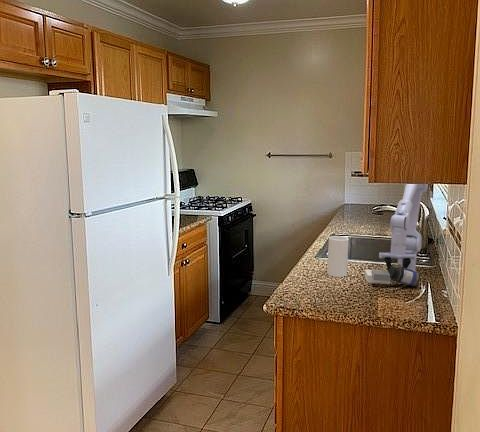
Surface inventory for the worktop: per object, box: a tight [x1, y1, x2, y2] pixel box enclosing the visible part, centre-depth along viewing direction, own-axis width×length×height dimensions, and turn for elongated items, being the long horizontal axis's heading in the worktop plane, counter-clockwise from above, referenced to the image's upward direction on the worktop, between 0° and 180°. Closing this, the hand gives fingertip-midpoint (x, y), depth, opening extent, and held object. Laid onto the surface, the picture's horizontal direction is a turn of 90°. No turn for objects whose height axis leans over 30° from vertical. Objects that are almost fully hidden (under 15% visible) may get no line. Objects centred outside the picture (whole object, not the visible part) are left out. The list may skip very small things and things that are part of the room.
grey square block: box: [371, 269, 391, 282], centre depth 186 cm, size 6×6×2 cm
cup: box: [326, 235, 350, 278], centre depth 201 cm, size 8×8×16 cm
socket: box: [364, 269, 392, 285], centre depth 195 cm, size 9×9×3 cm
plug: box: [391, 263, 402, 281], centre depth 197 cm, size 4×4×6 cm
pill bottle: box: [387, 265, 421, 287], centre depth 187 cm, size 6×6×11 cm
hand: (396, 275), depth 197 cm, fingers open, 5 cm apart
